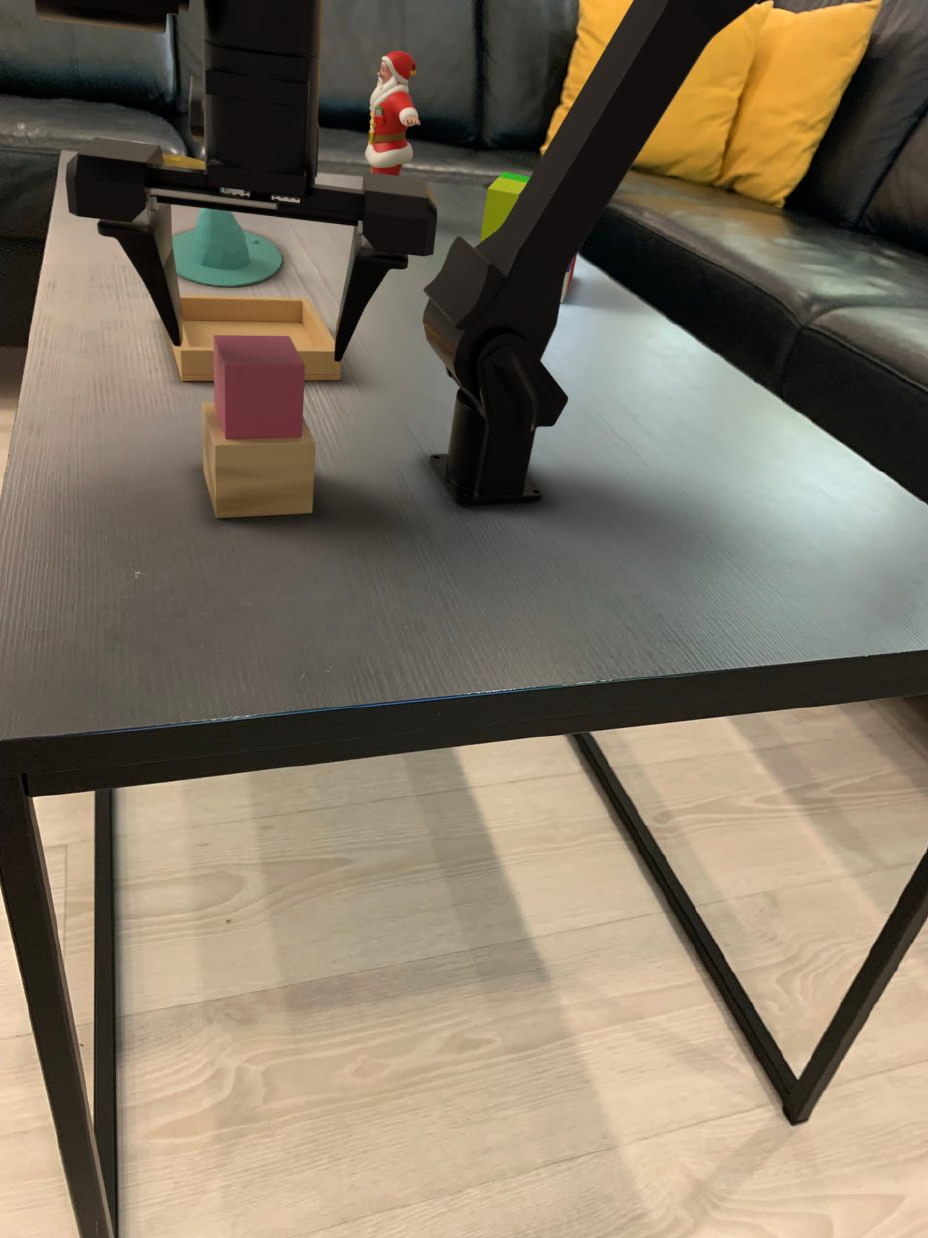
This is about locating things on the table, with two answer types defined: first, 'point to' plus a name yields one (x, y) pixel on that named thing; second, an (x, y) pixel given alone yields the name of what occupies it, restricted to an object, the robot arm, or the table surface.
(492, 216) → the puzzle toy
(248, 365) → the rose block
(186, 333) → the tray
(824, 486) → the table surface
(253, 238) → the teal cone with brim
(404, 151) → the santa figurine
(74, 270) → the table surface
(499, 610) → the table surface
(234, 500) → the base block
